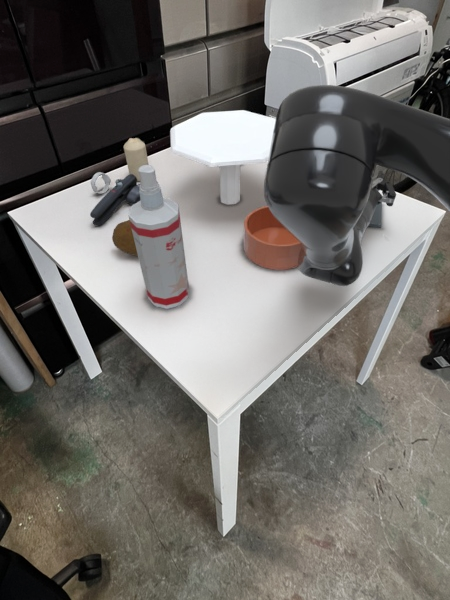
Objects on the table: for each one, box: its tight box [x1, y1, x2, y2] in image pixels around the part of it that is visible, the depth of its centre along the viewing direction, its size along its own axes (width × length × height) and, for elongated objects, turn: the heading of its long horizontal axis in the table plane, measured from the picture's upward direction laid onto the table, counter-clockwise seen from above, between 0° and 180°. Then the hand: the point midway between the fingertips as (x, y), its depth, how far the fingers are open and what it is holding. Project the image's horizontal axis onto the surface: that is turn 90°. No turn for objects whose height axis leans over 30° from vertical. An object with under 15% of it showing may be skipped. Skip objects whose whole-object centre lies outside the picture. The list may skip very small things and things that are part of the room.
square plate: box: [368, 202, 383, 229], centre depth 87 cm, size 10×10×1 cm
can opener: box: [89, 173, 141, 227], centre depth 89 cm, size 18×7×6 cm, turn 152°
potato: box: [111, 219, 138, 256], centre depth 77 cm, size 8×12×8 cm, turn 100°
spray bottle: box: [127, 164, 190, 310], centre depth 61 cm, size 8×8×25 cm
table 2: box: [169, 109, 276, 206], centre depth 87 cm, size 28×28×17 cm
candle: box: [123, 137, 150, 182], centre depth 98 cm, size 6×6×10 cm
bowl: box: [243, 205, 302, 271], centre depth 77 cm, size 14×14×6 cm
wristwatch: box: [90, 171, 112, 195], centre depth 95 cm, size 3×5×5 cm, turn 149°
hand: (370, 173), depth 83 cm, fingers open, 3 cm apart
